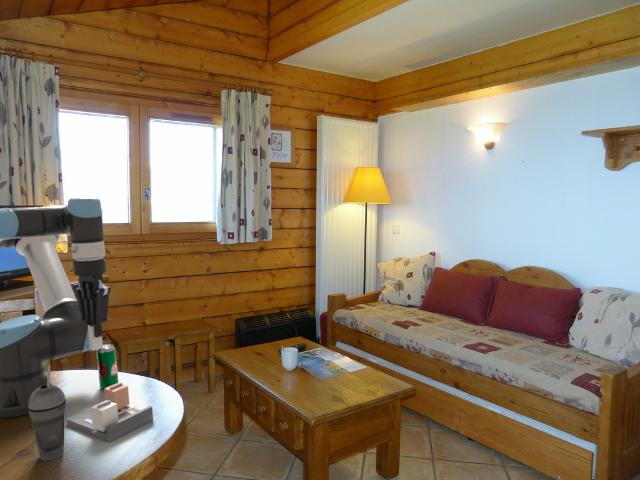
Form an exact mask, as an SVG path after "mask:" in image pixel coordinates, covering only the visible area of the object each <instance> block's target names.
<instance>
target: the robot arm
mask: <svg viewBox="0 0 640 480" xmlns="http://www.w3.org/2000/svg"><path fill="white" fill-rule="evenodd" d="M103 224H104V223H103V210H102V202H101V200H100V198H99V197H75V198H74V197H73V198H69V199H68V201H67V204H63V205H62V204H61V205H52V206H51V205H50V206H49V205H48V206H32V207H31V206H30V207H26V206H25V207H1V208H0V249H3V248H4V249H5V248H15V250H16V252H17V253H18V254H19V255H21V256H23V257H24V259H25V261H26V264H27V265H28V268H29V270H30V273H31V276H32V279H33V281H34V285H35V287H36V289H37V292H38V294H39V298H40V300H41V303H42V306H43V308H44V311H45V312H44V313H43V315H42V317H41V316H40V315H38V314H27V315H21V316H16V317H14V318H9V319H7V320H4V321H1V322H0V418H2V419H3V418H5V419H6V418H15V417H21V416H25V415H28V414H29V410H28V403H29V399H30V396H31V394H32V393H33V392H34V391H35V390H36V389H37V388H39V387H41V386H43V385H47V377H48V373H46V362H49V361H53V360H57V359H61V358H65V357H69V356H75V355H77V354H83V353H84V352H89V351H97V349H100V348H103V345H104V342H103V327H102V325H103V323H107V322H108V311H109V298H110V293H111V291H112V290H111V286H106V285H105V283H104V278H103V274H105V273H106V272H107V264H106V263H107V262H106V259H105V258H104V257H105V256H106V249H105V248H106V247H105V238H104V225H103ZM61 235H70V242H71V247H70V251H71V252H72V254H71V255H72V259H74V260H73V261H72V269H73V275H75V276H78V279H77V280H78V282H77V283H75V284H73V285H72V286H71V283H70V281H69V278H68V276H67V274H66V272H65V269H64V266H63V264H62V262H61V260H60V257H59V255H58V252H57V249H56V245H57V243H58V241H59V239H60V236H61ZM50 385H53V384H52V382H51V381H50ZM29 415H30V414H29Z"/></svg>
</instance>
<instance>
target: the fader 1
mask: <svg viewBox="0 0 640 480" xmlns="http://www.w3.org/2000/svg"><path fill="white" fill-rule="evenodd" d="M103 390H104V401H106V400H107V401H108V400H111V402H113V403H116V404H117V409H118V410H119V409H121V408H123V407H125V406H130V397H129V396H130V395H129V385H126V384H123V382H119V383H117V384H114V385H112V386H109V387H107V388H105V389H103Z"/></svg>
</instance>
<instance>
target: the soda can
mask: <svg viewBox="0 0 640 480" xmlns="http://www.w3.org/2000/svg"><path fill="white" fill-rule="evenodd" d="M95 351H96V352H95V354H96V355H95V356H96V362H97V363H96V364H97V373H98V382H99V388H101V389H102V390H104V389H105V388H107V387H109V386H112V385H114V384H117V383H120V382H119V373H118V364H117V363H118V362H117V353H116V352H117V351H116V348H115V346H114V344H112V343H111V344H110V343H108V344H103V348H100V349H97V350H95Z"/></svg>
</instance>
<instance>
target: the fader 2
mask: <svg viewBox="0 0 640 480" xmlns="http://www.w3.org/2000/svg"><path fill="white" fill-rule="evenodd" d="M90 409H91V412H92V424H93V428H95V429H98V430H100V431H103V432H104V431H106V426H108V425H110V424H113V423H115V422H117V421H118V409H117V404H116V403H113V402H111V400H108V401H107V400H106V401H105V400H104V401H101V402H99V403H97V404H95V405H93V406H90Z"/></svg>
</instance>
